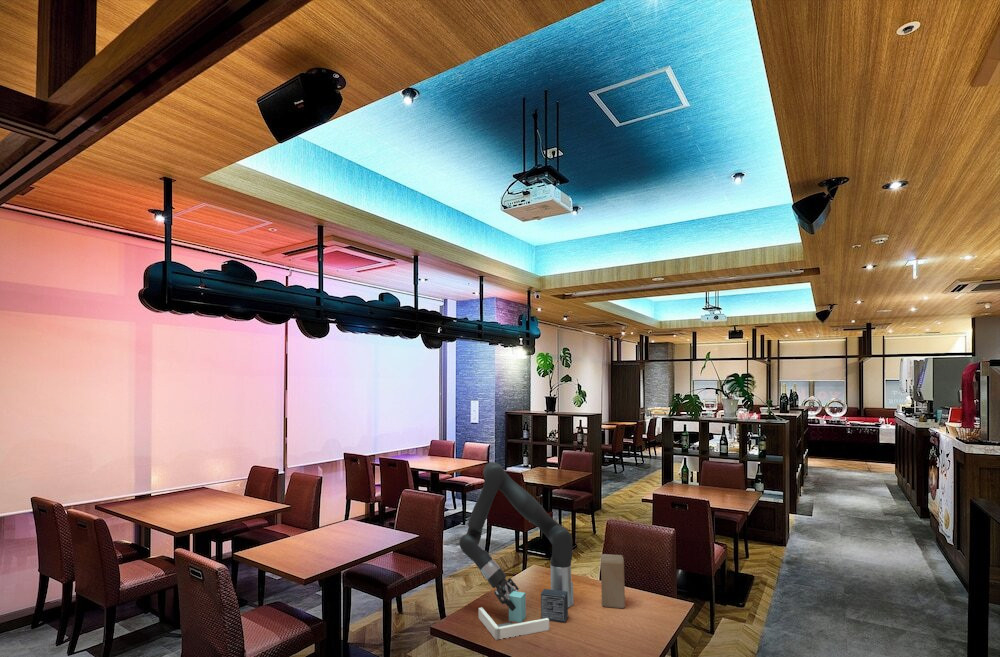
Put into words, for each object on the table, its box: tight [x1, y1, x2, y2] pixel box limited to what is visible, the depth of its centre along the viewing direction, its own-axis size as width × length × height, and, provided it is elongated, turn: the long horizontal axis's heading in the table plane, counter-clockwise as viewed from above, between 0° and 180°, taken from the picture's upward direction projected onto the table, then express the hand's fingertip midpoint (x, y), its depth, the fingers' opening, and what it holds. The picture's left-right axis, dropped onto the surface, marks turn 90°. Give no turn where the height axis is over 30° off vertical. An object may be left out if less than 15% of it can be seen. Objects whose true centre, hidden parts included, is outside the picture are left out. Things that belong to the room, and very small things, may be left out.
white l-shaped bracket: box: [478, 607, 550, 641], centre depth 218 cm, size 23×21×4 cm
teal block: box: [508, 591, 527, 623], centre depth 223 cm, size 6×6×10 cm
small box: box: [540, 588, 569, 624], centre depth 224 cm, size 11×6×10 cm, turn 71°
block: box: [600, 553, 626, 609], centre depth 238 cm, size 10×10×20 cm
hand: (518, 605), depth 223 cm, fingers open, 8 cm apart
